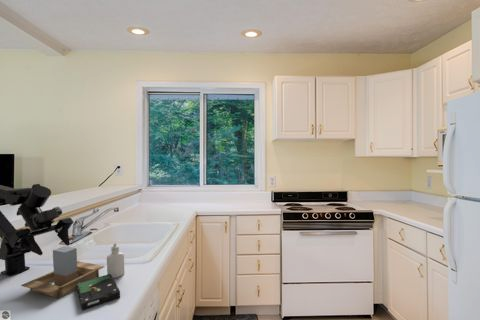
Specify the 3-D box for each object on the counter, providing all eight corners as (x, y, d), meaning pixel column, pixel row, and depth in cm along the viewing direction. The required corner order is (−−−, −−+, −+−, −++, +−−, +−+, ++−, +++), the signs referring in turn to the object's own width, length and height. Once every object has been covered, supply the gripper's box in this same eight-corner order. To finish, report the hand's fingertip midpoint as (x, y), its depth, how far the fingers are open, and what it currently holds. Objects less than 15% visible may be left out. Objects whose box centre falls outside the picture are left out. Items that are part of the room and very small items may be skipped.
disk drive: (121, 299, 80) (110, 280, 91) (120, 290, 79) (110, 272, 91) (82, 313, 73) (75, 290, 85) (81, 303, 73) (75, 282, 85)
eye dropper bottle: (111, 273, 96) (109, 241, 96) (126, 272, 96) (125, 240, 96) (105, 278, 92) (104, 245, 91) (121, 278, 92) (120, 245, 91)
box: (54, 284, 88) (52, 250, 88) (65, 279, 92) (64, 246, 91) (66, 287, 86) (65, 252, 85) (77, 282, 90) (76, 248, 89)
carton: (21, 294, 82) (21, 285, 82) (77, 268, 100) (77, 260, 100) (51, 302, 77) (50, 292, 77) (104, 274, 95) (104, 266, 95)
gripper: (12, 206, 83) (36, 244, 79) (69, 196, 100) (91, 227, 97) (-1, 228, 86) (21, 266, 82) (56, 215, 103) (77, 245, 100)
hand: (55, 249), depth 90 cm, fingers open, 9 cm apart
